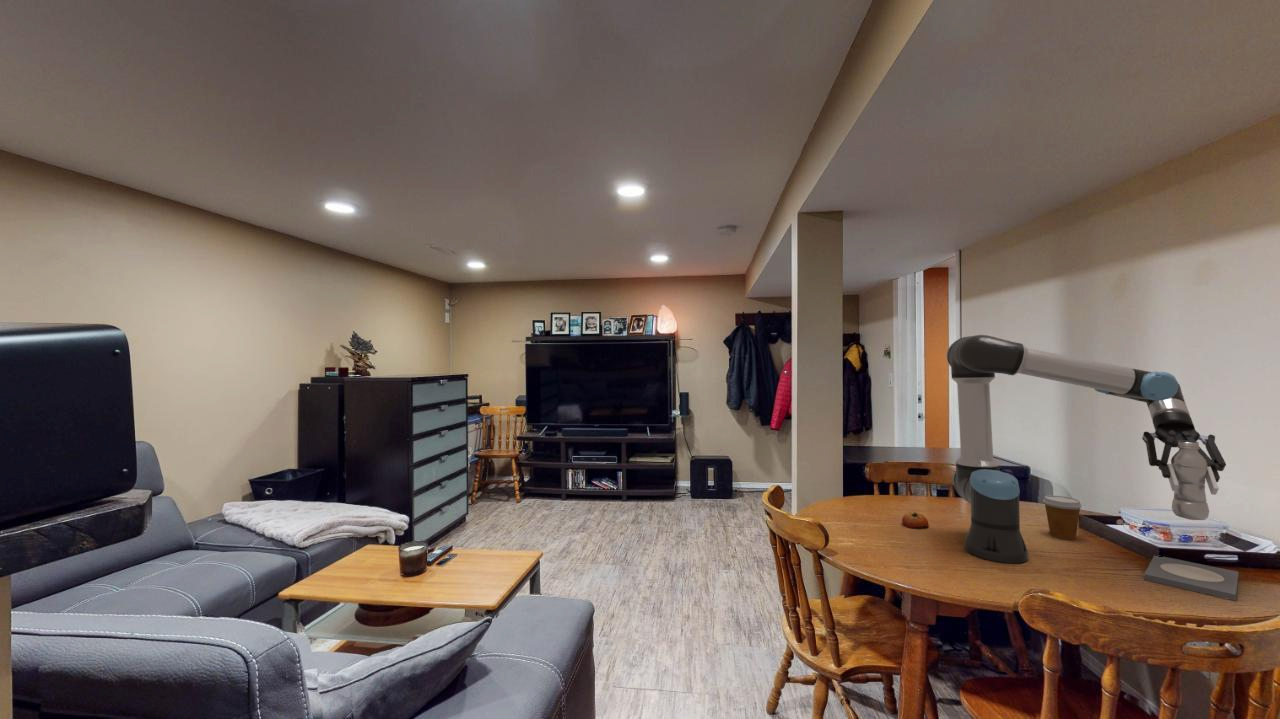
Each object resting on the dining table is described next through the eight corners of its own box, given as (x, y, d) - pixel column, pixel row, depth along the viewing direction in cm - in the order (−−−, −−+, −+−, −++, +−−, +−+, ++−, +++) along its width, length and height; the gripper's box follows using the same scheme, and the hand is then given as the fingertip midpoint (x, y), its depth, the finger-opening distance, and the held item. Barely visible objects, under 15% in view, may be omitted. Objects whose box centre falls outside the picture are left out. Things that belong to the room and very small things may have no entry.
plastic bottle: (1199, 516, 129) (1197, 440, 129) (1216, 524, 123) (1213, 444, 123) (1166, 514, 132) (1164, 439, 132) (1180, 521, 125) (1178, 442, 126)
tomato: (895, 521, 171) (904, 503, 173) (901, 530, 175) (910, 513, 177) (919, 530, 165) (928, 512, 167) (924, 540, 168) (933, 522, 170)
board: (1235, 601, 115) (1235, 593, 115) (1144, 579, 127) (1144, 573, 127) (1238, 577, 127) (1238, 571, 127) (1154, 560, 139) (1154, 554, 139)
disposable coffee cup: (1091, 541, 154) (1090, 502, 154) (1060, 541, 154) (1059, 503, 154) (1065, 531, 163) (1064, 495, 164) (1036, 531, 164) (1035, 495, 164)
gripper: (1217, 429, 135) (1247, 503, 121) (1121, 425, 145) (1139, 492, 132) (1225, 411, 131) (1257, 486, 117) (1126, 408, 141) (1144, 476, 127)
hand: (1194, 489), depth 124 cm, fingers closed on plastic bottle, 6 cm apart
